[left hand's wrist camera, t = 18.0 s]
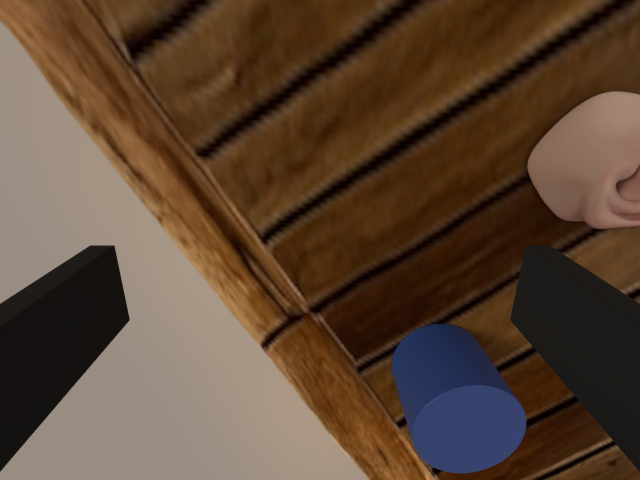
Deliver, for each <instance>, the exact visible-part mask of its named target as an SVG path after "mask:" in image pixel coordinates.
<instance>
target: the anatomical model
mask: <svg viewBox="0 0 640 480" xmlns="http://www.w3.org/2000/svg"><path fill="white" fill-rule="evenodd" d="M528 172H529V175H530V178H531V180H532V182H533V184H534V186H535V188H536V189H537V191H538V193H539V195H540V196H541V198H542V199H543V201H544V202H545V203H546V205H547V206H548V207H549V208H550V209H551V210H552V211H553V213H554V214H555V215H557V216H558V217H559V218H561V219H564V220H567V221H585V222H586V223H587V224H588V225H590V226H591V227H593V228H597V229H608V228H619V227H632V226H640V95H638V94H634V93H628V92H606V93H602V94H599V95H597V96H594V97H592V98H590V99H588V100H586V101H585V102H583V103H582V104H580V105H579V106H577V107H575V108H574V109H573V110H572V111H570V112H569V113H568V114H567V115H565V116H564V117H563V118H562V119H561V120H560V121H559V122H558V123H557V124H556V125H554V126H553V127H552V128H551V130H550V131H549V132H548V133H547V134H546V135H545V136H544V137H543V138H542V139H541V140H540V142H539V143H538V144H537V145H536V147H535V148H534V149H533V151H532V153H531V155H530V157H529V160H528Z"/></svg>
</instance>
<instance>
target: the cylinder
mask: <svg viewBox="0 0 640 480" xmlns="http://www.w3.org/2000/svg"><path fill="white" fill-rule="evenodd" d="M392 373H393V376H394V379H395V383H396V386H397V390H398V393H399V397H400V400H401V403H402V407H403V410H404V414H405V417H406V421H407V424H408V427H409V431H410V434H411V438H412V441H413V444H414V447H415V449H416V451H417V453H418V454H419V456H420V457H421V458H422V459H423V460H424V461H425V462H427V463H428V464H429V465H431V466H433V467H435V468H437V469H440V470H443V471H447V472H453V473H469V472H476V471H480V470H484V469H486V468H489V467H492V466H494V465H496V464H498V463H499V462H501V461H503V460H504V459H505V458H507V457H508V456H509V455H510V454H511V453H513V451H514V450H515V449H516V448H517V447H518V445H519V444H520V442H521V440H522V439H523V436H524V433H525V430H526V416H525V412H524V410H523V407H522V406H521V404H520V402H519V401H518V400H517V398H516V397H515V395H514V394H513V392H512V391H511V389H510V388H509V387H508V385H507V384H506V382H505V381H504V379H503V378H502V376H501V375H500V373H499V372H498V371H497V369H496V368H495V366H494V365H493V363H492V362H491V360H490V359H489V358H488V356H487V355H486V353H485V352H484V350H483V349H482V347H481V346H480V344H479V343H478V342H477V340H476V339H475V338H474V336H473V335H471V334H470V333H469V332H468V331H466V330H465V329H462V328H460V327H458V326H454V325H449V324H434V325H429V326H425V327H422V328H420V329H418V330H416V331H414V332H412V333H411V334H409V335H408V336H407V337H406V338H405V339H403V341H402V342H401V343H400V344H399V346H398V347H397V349H396V351H395V353H394V356H393V359H392Z"/></svg>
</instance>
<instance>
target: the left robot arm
mask: <svg viewBox="0 0 640 480" xmlns="http://www.w3.org/2000/svg"><path fill="white" fill-rule="evenodd" d="M129 320H130V319H129V314H128V309H127V305H126V300H125V295H124V290H123V285H122V281H121V275H120V271H119V266H118V261H117V256H116V251H115V246H89V247H87V248H86V249H84V250H83V251H81V252H80V253H78V254H77V255H75V256H73V257H72V258H70V259H69V260H67V261H66V262H64V263H63V264H61V265H60V266H58V267H56V268H55V269H53V270H52V271H50V272H49V273H47V274H46V275H44V276H43V277H41V278H40V279H38V280H36V281H35V282H33V283H32V284H30V285H29V286H27V287H26V288H24V289H23V290H21V291H19V292H18V293H16V294H15V295H13V296H12V297H10V298H9V299H7V300H5V301H4V302H2V303H1V304H0V471H1V470H2V469H3V468H4V467H5V465H6V464H7V463H8V462H9V461H10V459H11V458H12V457H13V456H14V455H15V454H16V452H17V451H18V450H19V449H20V448H21V447H22V445H23V444H24V443H25V442H26V441H27V440H28V438H29V437H30V436H31V435H32V434H33V433H34V431H35V430H36V429H37V428H38V427H39V426H40V424H41V423H42V422H43V421H44V420H45V419H46V417H47V416H48V415H49V414H50V413H51V412H52V410H53V409H54V408H55V407H56V406H57V404H58V403H59V402H60V401H61V400H62V399H63V397H64V396H65V395H66V394H67V393H68V392H69V390H70V389H71V388H72V387H73V386H74V385H75V383H76V382H77V381H78V380H79V379H80V378H81V376H82V375H83V374H84V373H85V372H86V371H87V369H88V368H89V367H90V366H91V365H92V363H93V362H94V361H95V360H96V359H97V358H98V356H99V355H100V354H101V353H102V352H103V351H104V349H105V348H106V347H107V346H108V345H109V344H110V342H111V341H112V340H113V339H114V338H115V337H116V335H117V334H118V333H119V332H120V331H121V330H122V328H123V327H124V326H125V325H126V324H127V322H128V321H129ZM510 320H511V321H512V323H513V324H514V325H515V326H516V327H517V328H518V330H519V331H520V332H521V333H522V334H523V335H524V337H525V338H526V339H527V340H528V341H529V342H530V344H531V345H532V346H533V347H534V348H535V349H536V351H537V352H538V353H539V354H540V355H541V357H542V358H543V359H544V360H545V361H546V362H547V364H548V365H549V366H550V367H551V368H552V369H553V371H554V372H555V373H556V374H557V375H558V376H559V378H560V379H561V380H562V381H563V382H564V383H565V385H566V386H567V387H568V388H569V389H570V390H571V392H572V393H573V394H574V395H575V396H576V397H577V399H578V400H579V401H580V402H581V403H582V405H583V406H584V407H585V408H586V409H587V410H588V412H589V413H590V414H591V415H592V416H593V417H594V419H595V420H596V421H597V422H598V423H599V424H600V426H601V427H602V428H603V429H604V430H605V431H606V433H607V434H608V435H609V436H610V437H611V438H612V440H613V441H614V442H615V443H616V444H617V445H618V447H619V448H620V449H621V450H622V451H623V453H624V454H625V455H626V456H627V457H628V458H629V460H630V461H631V462H632V463H633V464H634V465H635V467H636V468H637V469H638V470H639V471H640V304H639V303H638V302H636V301H635V300H633V299H631V298H630V297H628V296H627V295H625V294H624V293H622V292H621V291H619V290H618V289H616V288H614V287H613V286H611V285H610V284H608V283H607V282H605V281H604V280H602V279H601V278H599V277H597V276H596V275H594V274H593V273H591V272H590V271H588V270H587V269H585V268H584V267H582V266H580V265H579V264H577V263H576V262H574V261H573V260H571V259H570V258H568V257H567V256H565V255H563V254H562V253H560V252H559V251H557V250H556V249H554V248H553V247H551V246H525V251H524V256H523V261H522V266H521V271H520V275H519V280H518V285H517V290H516V295H515V300H514V305H513V309H512V314H511V319H510Z"/></svg>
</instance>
